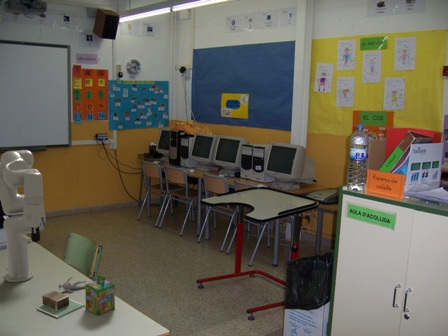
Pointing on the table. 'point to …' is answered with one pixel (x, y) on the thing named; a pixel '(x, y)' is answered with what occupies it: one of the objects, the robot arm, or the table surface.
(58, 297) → the walnut block
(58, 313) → the mat
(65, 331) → the table surface
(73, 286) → the soldier figure
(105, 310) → the chalk box
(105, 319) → the table surface
